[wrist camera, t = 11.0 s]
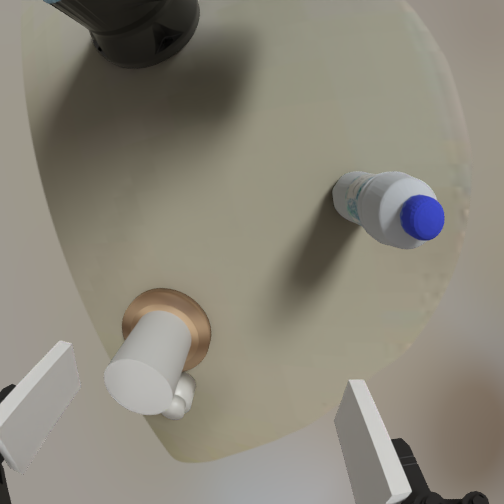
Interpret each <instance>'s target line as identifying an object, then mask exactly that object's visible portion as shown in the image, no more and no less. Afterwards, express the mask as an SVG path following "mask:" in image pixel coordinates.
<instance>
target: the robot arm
mask: <svg viewBox="0 0 504 504" xmlns="http://www.w3.org/2000/svg"><path fill="white" fill-rule="evenodd" d="M43 1H44V2H46V3H48V4H50V5H52V6H54V7H55V8H57V9H58V10H60V11H61V12H63V13H65V14H66V15H68V16H69V17H71V18H72V19H74V20H75V21H77V22H78V23H80V24H81V25H83V26H84V27H86V28H87V29H88V30H89V32H90V35H91V37H92V40H93V43H94V45H95V47H96V49H97V50H98V52H99V53H100V54H101V55H102V56H103V57H104V58H106V59H107V60H109V61H110V62H112V63H113V64H115V65H118V66H121V67H125V68H142V67H147V66H151V65H154V64H157V63H159V62H162V61H164V60H165V59H167V58H169V57H171V56H172V55H174V54H175V53H176V52H178V51H179V50H180V49H181V48H182V47H183V46H184V45H185V44H186V43H187V42H188V41H189V39H190V38H191V37H192V35H193V33H194V32H195V30H196V27H197V25H198V22H199V17H200V8H199V4H198V1H197V0H43ZM80 388H81V383H80V379H79V374H78V370H77V365H76V360H75V355H74V350H73V345H72V343H68V342H64V341H59V342H58V343H57V344H56V345H55V346H54V347H53V348H52V349H51V350H50V351H49V352H48V353H47V354H46V355H45V356H44V357H43V358H42V359H41V360H40V361H39V362H38V363H37V364H36V366H34V368H33V369H32V370H31V371H30V372H29V373H28V374H27V375H26V376H25V377H24V378H23V380H21V381H20V383H19V384H18V385H17V386H16V385H13V384H11V385H9V386H7V387H6V388H4V389H3V390H2V391H1V392H0V504H11V500H10V496H9V492H8V488H7V483H6V478H5V473H4V468H3V466H2V464H1V463H2V462H3V461H4V460H5V461H6V463H7V464H8V466H9V467H10V468H12V469H13V470H15V471H17V472H19V473H21V474H24V473H25V471H26V469H27V468H28V466H29V465H30V463H31V461H32V460H33V458H34V457H35V455H36V453H37V452H38V450H39V449H40V447H41V446H42V444H43V442H44V441H45V439H46V438H47V436H48V435H49V433H50V432H51V430H52V429H53V427H54V426H55V424H56V423H57V421H58V420H59V418H60V417H61V415H62V414H63V412H64V411H65V409H66V408H67V407H68V405H69V403H70V402H71V401H72V399H73V398H74V396H75V395H76V394H77V392H78V391H79V389H80ZM334 422H335V426H336V430H337V434H338V437H339V441H340V445H341V449H342V452H343V456H344V460H345V464H346V467H347V471H348V475H349V479H350V483H351V487H352V491H353V495H354V499H355V503H356V504H489V502H488V499H487V497H486V496H485V495H484V494H482V493H481V492H477V491H474V492H470V493H468V494H466V495H465V497H464V498H463V499H443V498H442V497H441V496H440V495H439V494H437V493H435V492H431V491H430V489H429V488H428V485H427V483H426V481H425V479H424V477H423V474H422V472H421V470H420V468H419V466H418V464H417V461H416V459H415V457H414V456H413V453H412V450H411V448H410V446H409V445H408V444H407V443H406V442H405V441H404V440H403V439H402V438H398V439H390V437H389V435H388V432H387V430H386V428H385V426H384V423H383V421H382V419H381V417H380V414H379V412H378V410H377V408H376V405H375V403H374V401H373V399H372V396H371V394H370V392H369V390H368V388H367V386H366V383H365V381H364V380H348V383H347V386H346V389H345V392H344V395H343V398H342V400H341V403H340V406H339V409H338V411H337V414H336V417H335V419H334Z"/></svg>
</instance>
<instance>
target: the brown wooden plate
mask: <svg viewBox="0 0 504 504" xmlns="http://www.w3.org/2000/svg"><path fill="white" fill-rule="evenodd" d="M152 311H166V312H169V313H172V314H174V315H176V316H177V317H179V318H180V319H181V320H182V321H183V322H184V323H185V324H186V325H187V327H188V329H189V331H190V334H191V346H190V349H189V352H188V355H187V358H186V361H185V364H184V367H183V370H182V372H183V371H187V370H189V369H192V368H194V367H195V366H197V365H198V364H199V363H200V362H201V361H202V360H203V359H204V357H205V356H206V354H207V351H208V348H209V344H210V340H211V326H210V323H209V320H208V317H207V315H206V314H205V312H204V310H203V309H202V308H201V307H200V305H199V304H198V303H197V302H196V301H194V300H193V299H192V298H190V297H189V296H187V295H186V294H183V293H181V292H179V291H176V290H172V289H166V288H157V289H151V290H148V291H146V292H144V293H142V294H140V295H139V296H138V297H137V298H136V299H135V300H134V301H133V302H132V303H131V304H130V305H129V307H128V308H127V310H126V312H125V314H124V317H123V321H122V330H123V335H124V339H125V340H126V339H127V337H128V336H129V334H130V333H131V331H132V330H133V329H134V327H135V326H136V324H137V323H138V321H139V320H140V319H141V317H142V316H144V315H145V314H147V313H149V312H152Z"/></svg>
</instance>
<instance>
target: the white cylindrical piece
mask: <svg viewBox="0 0 504 504" xmlns="http://www.w3.org/2000/svg"><path fill="white" fill-rule="evenodd" d="M190 346H191V334H190V331H189V329H188V327H187V325H186V324H185V323H184V322H183V321H182V320H181V319H180V318H179V317H177V316H176V315H174V314H172V313H169V312H166V311H152V312H149V313H147V314H145V315H144V316H142V317H141V319H140V320H139V321H138V323H137V324H136V326H135V327H134V329H133V330H132V331H131V333H130V334H129V336H128V337H127V339H126V340H125V341H124V343H123V344H122V346H121V347H120V349H119V350H118V352H117V353H116V355H115V356H114V357H113V359H112V360H111V362H110V363H109V365H108V366H107V368H106V370H105V372H104V382H105V386H106V388H107V390H108V392H109V393H110V395H111V396H112V397H113V398H114V400H115V401H117V402H118V403H119V404H120V405H122V406H123V407H125V408H127V409H129V410H130V411H133V412H135V413H139V414H144V415H155V414H159V413H162V412H164V411H166V410H167V409H168V408H169V407H170V405H171V403H172V400H173V397H174V394H175V391H176V388H177V385H178V382H179V379H180V376H181V373H182V370H183V367H184V364H185V361H186V358H187V355H188V352H189V349H190Z"/></svg>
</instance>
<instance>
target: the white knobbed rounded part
mask: <svg viewBox="0 0 504 504" xmlns="http://www.w3.org/2000/svg"><path fill="white" fill-rule="evenodd" d="M195 389H196V382H195V380H194V378H193V377H192V376H191V375H189V374H187V373H185V372H182V373H181V376H180V379H179V382H178V385H177V388H176V391H175V394H174V397H173V400H172V403H171V405H170V407H169V408H168V409H167V410H166V411H164V412H162V414H163V415H164V416H165V417H166V418H169V419H172V420H178V419H181V418H182V417H183V416H184V413H187V412H188V411H189V410H190V408H191V404H192V400H193V396H194V393H195Z"/></svg>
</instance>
